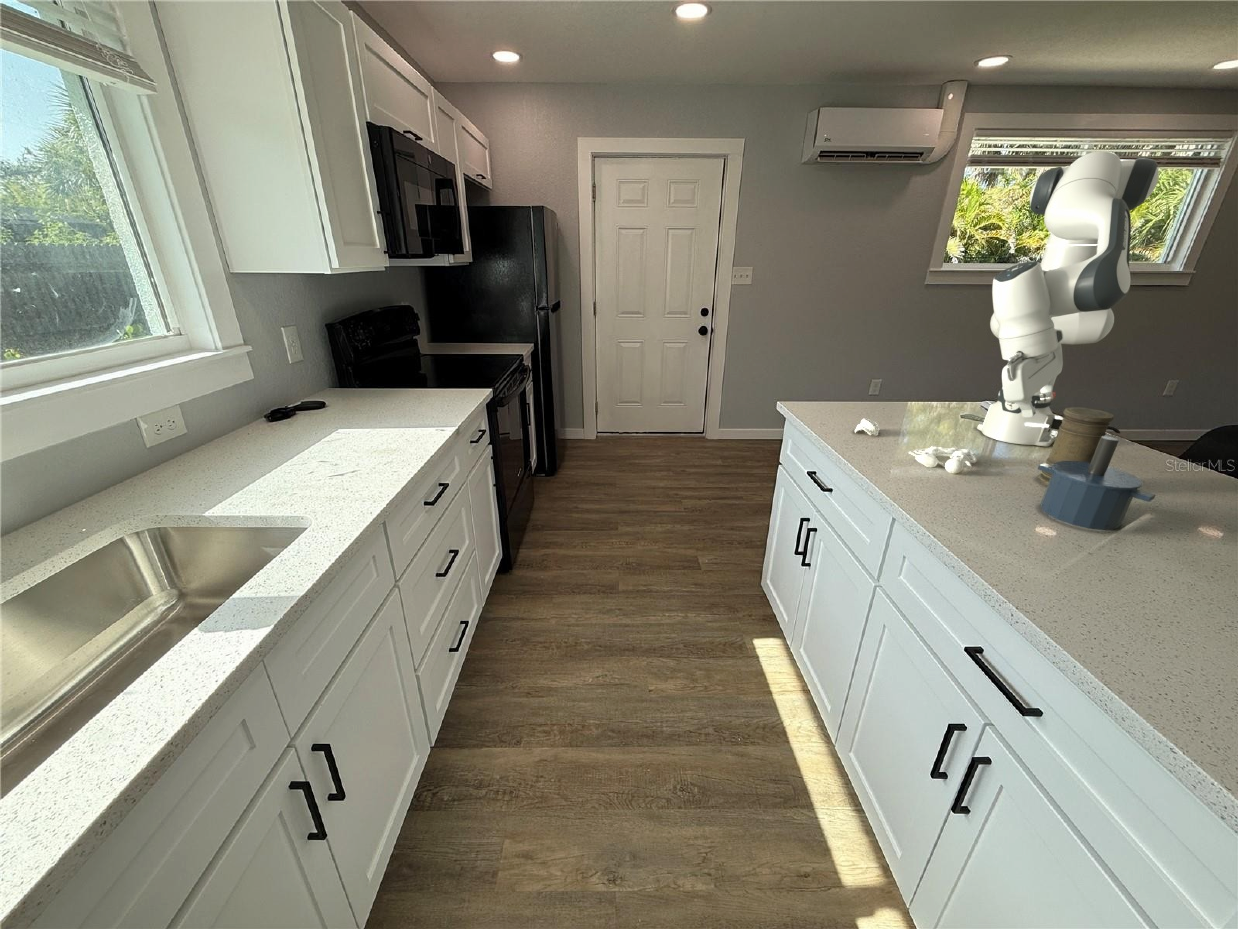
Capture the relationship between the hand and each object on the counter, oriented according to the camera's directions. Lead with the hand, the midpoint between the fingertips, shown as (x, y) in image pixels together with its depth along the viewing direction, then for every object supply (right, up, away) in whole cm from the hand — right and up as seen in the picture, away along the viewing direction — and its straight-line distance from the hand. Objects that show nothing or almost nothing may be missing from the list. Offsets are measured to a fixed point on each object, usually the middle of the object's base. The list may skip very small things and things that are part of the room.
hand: (1038, 408), depth 104 cm
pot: (+7, -23, -2) cm, 24 cm away
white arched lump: (-13, -2, +48) cm, 49 cm away
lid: (+7, -14, -5) cm, 17 cm away
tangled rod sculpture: (-4, -12, +26) cm, 28 cm away
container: (+16, -17, +13) cm, 27 cm away
